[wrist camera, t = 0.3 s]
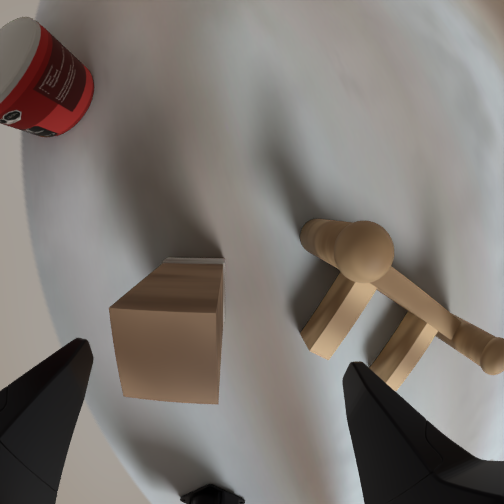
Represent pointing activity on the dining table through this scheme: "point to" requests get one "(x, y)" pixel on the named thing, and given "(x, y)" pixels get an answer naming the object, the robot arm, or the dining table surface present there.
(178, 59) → the dining table surface
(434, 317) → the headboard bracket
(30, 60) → the canned food
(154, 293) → the block
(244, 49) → the dining table surface
